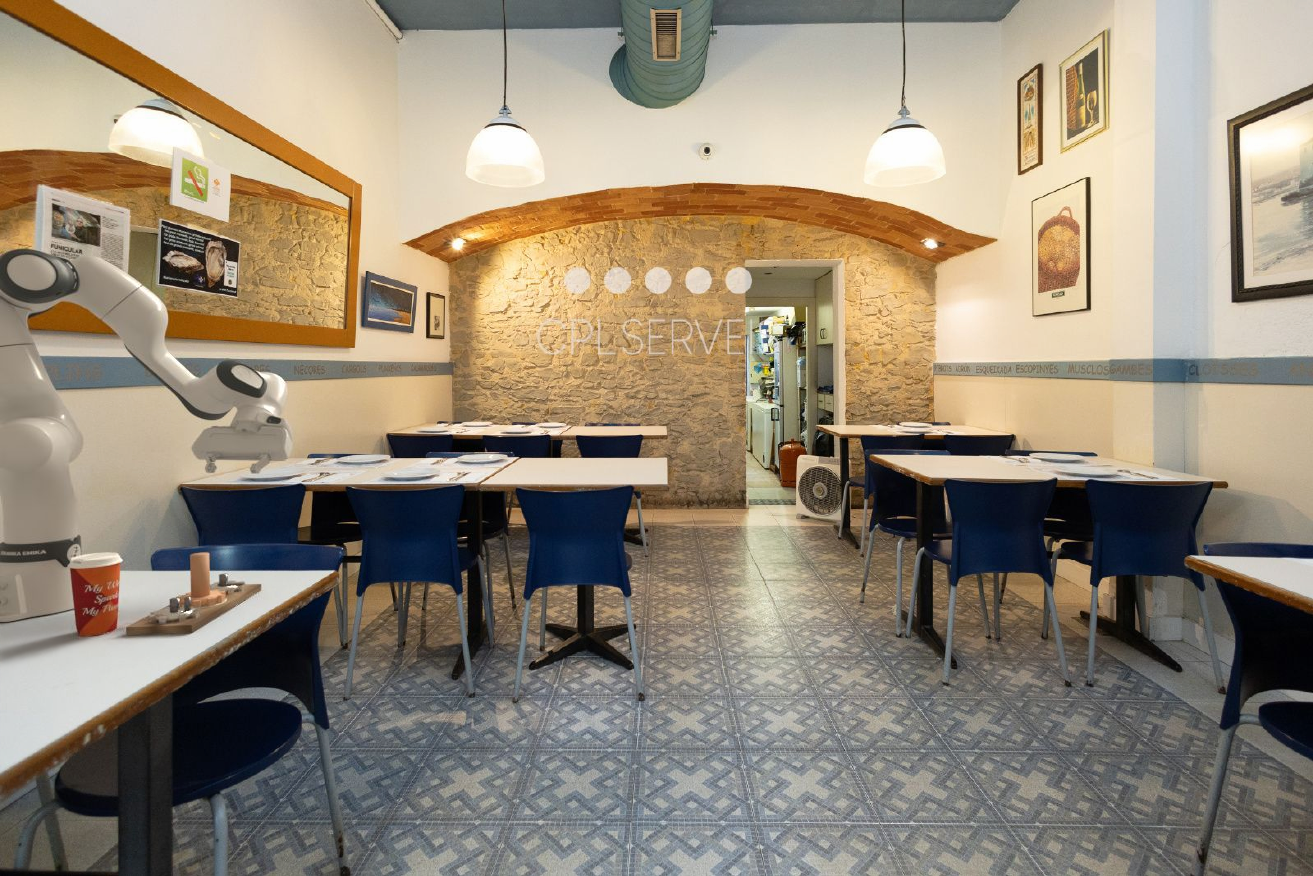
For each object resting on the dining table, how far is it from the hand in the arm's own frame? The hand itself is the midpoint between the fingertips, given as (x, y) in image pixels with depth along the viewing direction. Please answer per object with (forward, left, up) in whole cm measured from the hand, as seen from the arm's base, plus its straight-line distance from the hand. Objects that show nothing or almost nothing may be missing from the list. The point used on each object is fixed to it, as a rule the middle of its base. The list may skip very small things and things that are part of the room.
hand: (231, 471), depth 147 cm
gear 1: (+1, -25, -25) cm, 36 cm away
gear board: (+1, -16, -27) cm, 31 cm away
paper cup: (-11, -27, -27) cm, 40 cm away
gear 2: (+1, -7, -25) cm, 26 cm away
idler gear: (+1, -16, -25) cm, 30 cm away
